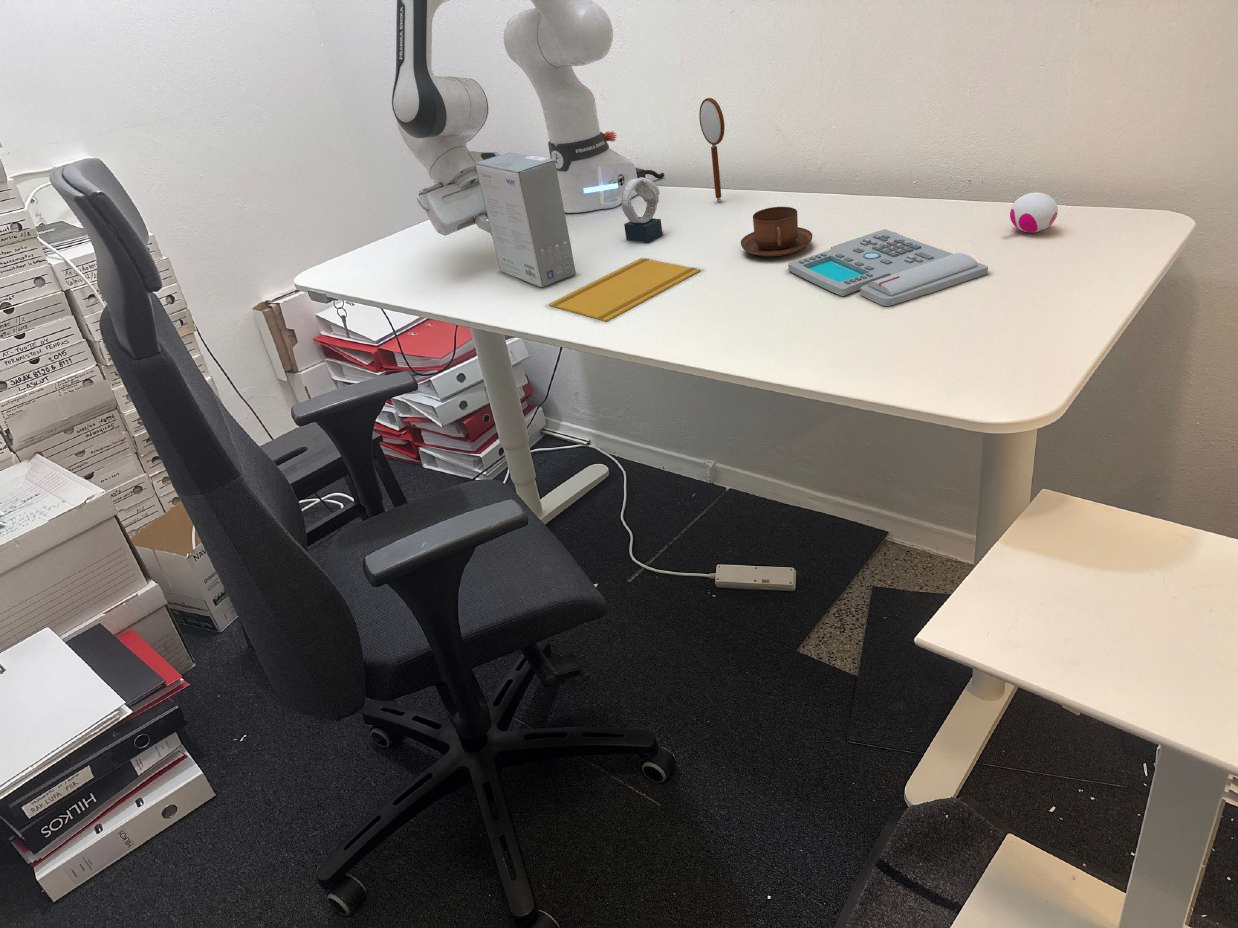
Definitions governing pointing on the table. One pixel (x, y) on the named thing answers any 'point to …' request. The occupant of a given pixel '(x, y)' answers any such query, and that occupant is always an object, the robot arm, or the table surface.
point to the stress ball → (1033, 212)
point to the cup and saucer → (776, 233)
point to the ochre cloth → (624, 289)
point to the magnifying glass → (713, 134)
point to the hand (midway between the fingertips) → (502, 234)
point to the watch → (646, 225)
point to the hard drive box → (526, 217)
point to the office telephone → (887, 268)
